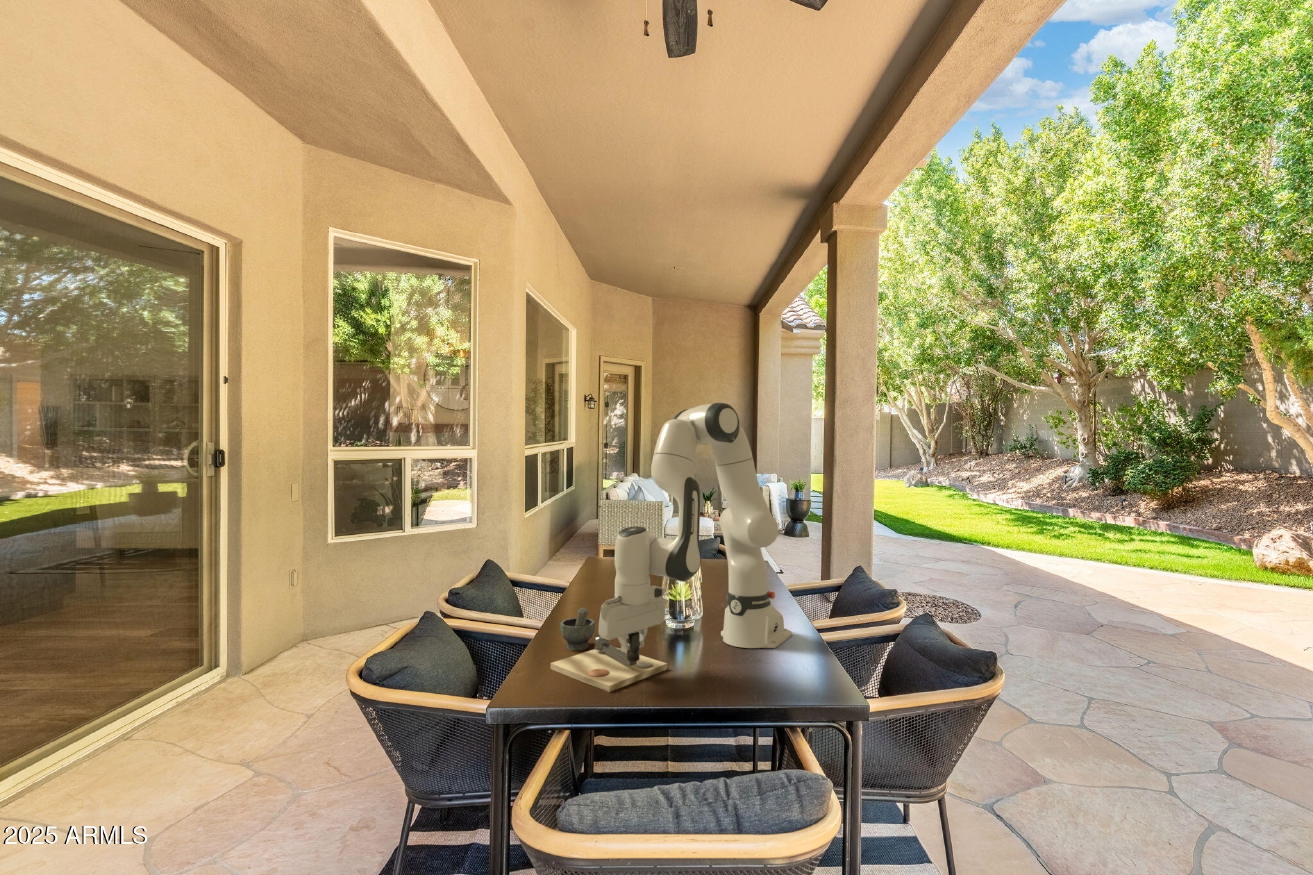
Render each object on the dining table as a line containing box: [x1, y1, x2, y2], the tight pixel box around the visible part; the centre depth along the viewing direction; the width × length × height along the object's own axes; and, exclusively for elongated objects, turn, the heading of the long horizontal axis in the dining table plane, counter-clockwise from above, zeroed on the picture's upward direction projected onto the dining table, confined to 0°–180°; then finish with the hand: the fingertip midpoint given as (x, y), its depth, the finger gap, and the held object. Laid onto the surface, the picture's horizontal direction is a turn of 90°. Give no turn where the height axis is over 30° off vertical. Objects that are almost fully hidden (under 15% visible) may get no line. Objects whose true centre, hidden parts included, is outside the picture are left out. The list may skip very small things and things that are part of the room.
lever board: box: [549, 646, 668, 693], centre depth 162 cm, size 20×22×2 cm
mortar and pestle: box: [559, 607, 596, 651], centre depth 179 cm, size 11×9×12 cm
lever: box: [594, 631, 641, 666], centre depth 165 cm, size 4×20×8 cm, turn 34°
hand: (632, 648), depth 158 cm, fingers open, 3 cm apart
